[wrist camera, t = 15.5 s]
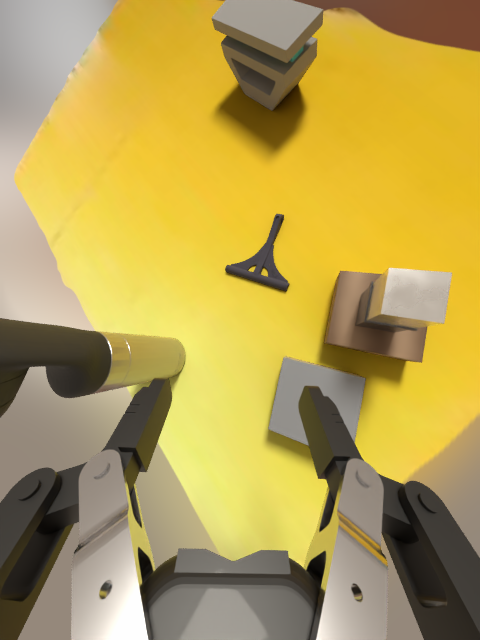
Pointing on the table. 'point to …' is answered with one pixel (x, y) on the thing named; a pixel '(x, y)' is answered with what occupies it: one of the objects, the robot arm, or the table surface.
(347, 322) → the stand
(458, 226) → the table surface
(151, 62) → the table surface
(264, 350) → the table surface
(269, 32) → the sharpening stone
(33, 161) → the table surface
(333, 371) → the stand
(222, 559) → the robot arm
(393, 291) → the block
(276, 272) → the bracket
